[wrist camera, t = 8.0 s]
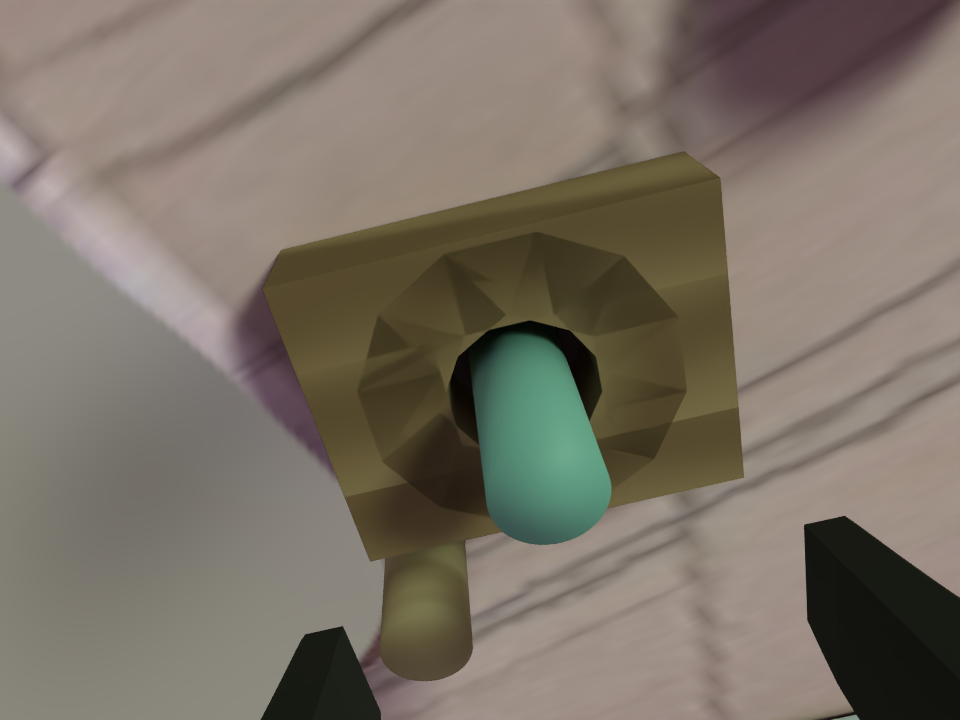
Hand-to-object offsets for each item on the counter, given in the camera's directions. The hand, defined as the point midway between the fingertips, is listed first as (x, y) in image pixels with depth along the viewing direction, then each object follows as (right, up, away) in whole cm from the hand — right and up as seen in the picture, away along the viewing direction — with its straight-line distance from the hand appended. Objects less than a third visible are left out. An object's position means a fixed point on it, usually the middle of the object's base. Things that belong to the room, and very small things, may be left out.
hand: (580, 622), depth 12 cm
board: (-1, +4, +8) cm, 10 cm away
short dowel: (-3, -2, +11) cm, 12 cm away
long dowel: (-1, +4, +8) cm, 10 cm away
